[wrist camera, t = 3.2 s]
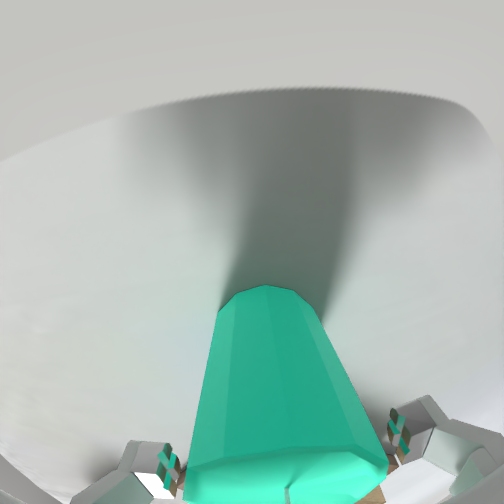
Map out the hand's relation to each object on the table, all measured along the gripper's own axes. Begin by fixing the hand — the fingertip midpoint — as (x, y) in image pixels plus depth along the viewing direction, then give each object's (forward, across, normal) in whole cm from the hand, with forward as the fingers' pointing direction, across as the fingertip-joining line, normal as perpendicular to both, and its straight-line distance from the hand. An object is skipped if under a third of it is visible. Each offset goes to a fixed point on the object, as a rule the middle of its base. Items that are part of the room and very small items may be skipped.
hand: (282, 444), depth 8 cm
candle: (+8, 0, 0) cm, 8 cm away
